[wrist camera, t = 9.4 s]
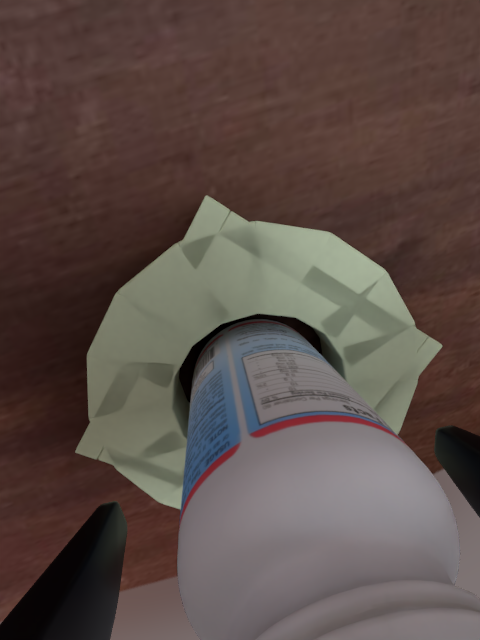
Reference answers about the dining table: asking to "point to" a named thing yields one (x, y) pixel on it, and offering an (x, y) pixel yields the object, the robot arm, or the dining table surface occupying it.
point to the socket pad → (228, 305)
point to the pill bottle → (308, 506)
